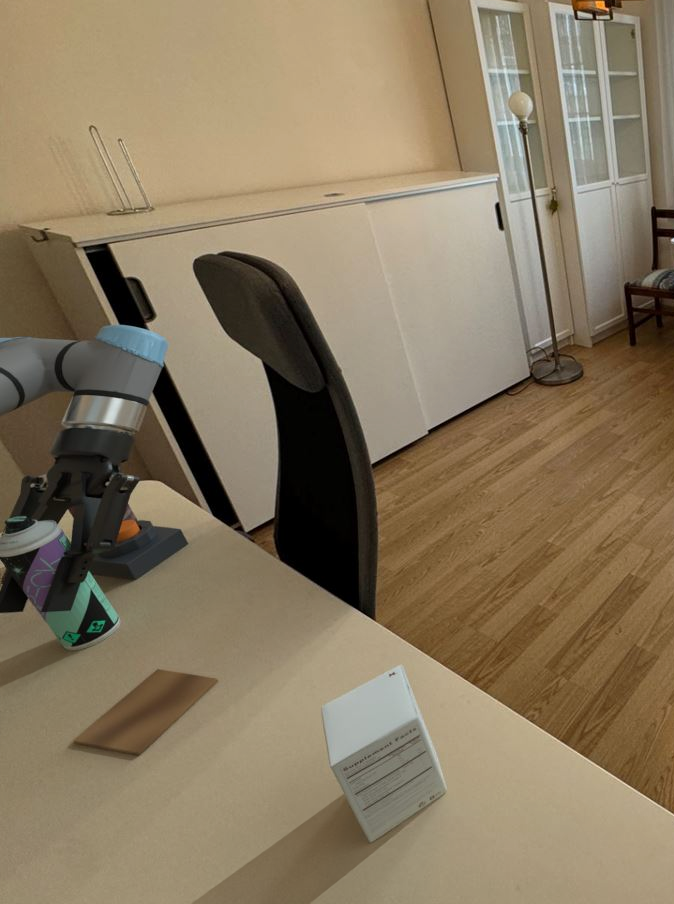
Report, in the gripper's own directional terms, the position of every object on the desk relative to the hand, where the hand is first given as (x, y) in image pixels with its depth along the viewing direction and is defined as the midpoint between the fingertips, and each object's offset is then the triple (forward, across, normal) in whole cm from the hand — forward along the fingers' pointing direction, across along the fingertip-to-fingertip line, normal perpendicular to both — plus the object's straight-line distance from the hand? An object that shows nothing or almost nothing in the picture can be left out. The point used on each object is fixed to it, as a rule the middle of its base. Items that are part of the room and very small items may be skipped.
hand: (31, 611), depth 70 cm
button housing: (-7, +8, -19) cm, 21 cm away
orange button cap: (-10, +8, -16) cm, 20 cm away
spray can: (+3, 0, -9) cm, 9 cm away
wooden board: (+11, -18, 0) cm, 22 cm away
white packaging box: (+18, -53, +6) cm, 56 cm away
